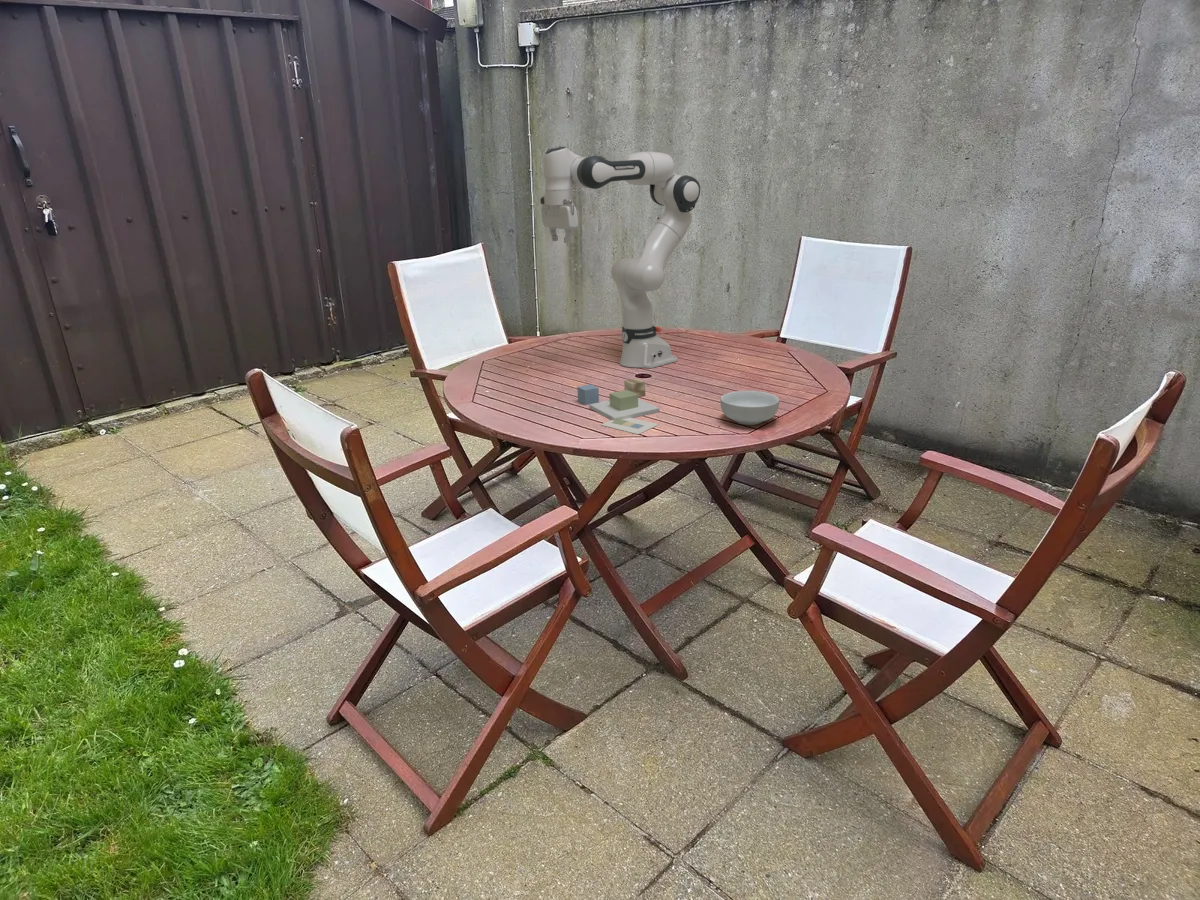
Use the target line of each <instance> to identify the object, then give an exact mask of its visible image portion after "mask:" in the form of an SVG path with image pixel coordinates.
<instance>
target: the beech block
mask: <svg viewBox="0 0 1200 900" xmlns="http://www.w3.org/2000/svg"><path fill="white" fill-rule="evenodd" d="M623 381H624V382H623V383H624V384H623V385H624V390H628V391H631V392H633V393H635V394H637V395H638V398H642V397H646V381H644V380H642V379H640V378H639V377H638V378H630V379H627V380H626V379H625V380H623ZM624 390H623V391H624Z"/></svg>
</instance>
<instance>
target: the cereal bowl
mask: <svg viewBox="0 0 1200 900" xmlns="http://www.w3.org/2000/svg"><path fill="white" fill-rule="evenodd" d="M779 405H780V399H779V397H778V395H775V394H773V393H770V392H766V391H765V392H764V391H759V390H738V391H731V392H728V393H725V394H722V396H721V397H720V408H721V411H722V413H723V414H724V415H725V416H726V417H727V418H729V419H731V420H733V421H735V422H736V423H737V424H740V425H746V426H756V425H759V424H761V423H763V422H765V421H768V420H771V419H772V418H773V417H774V416H775V415H776V414H777V412H778V410H779V407H780V406H779Z"/></svg>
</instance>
